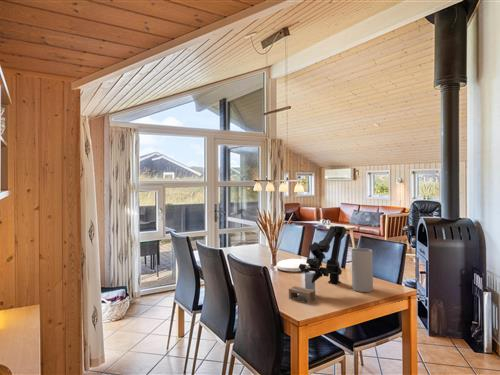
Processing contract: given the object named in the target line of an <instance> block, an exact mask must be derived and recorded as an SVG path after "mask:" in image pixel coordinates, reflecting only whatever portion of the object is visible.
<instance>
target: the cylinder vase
mask: <svg viewBox="0 0 500 375" xmlns="http://www.w3.org/2000/svg"><path fill="white" fill-rule="evenodd" d="M350 250H351V283H352V284H351V286H352V287H351V288H352V289H353V290H354V291H355V292H359V293H370V292H372V291H373V290H374V268H373V266H374V265H373V250H372V249H370V248H364V247H357V248H356V247H354V248H351V249H350Z"/></svg>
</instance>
